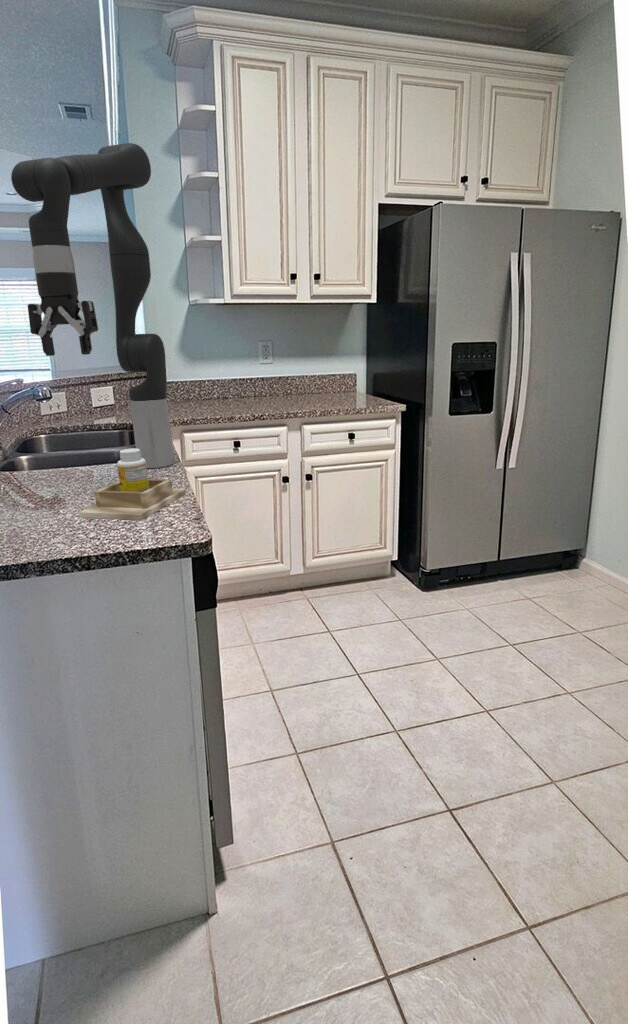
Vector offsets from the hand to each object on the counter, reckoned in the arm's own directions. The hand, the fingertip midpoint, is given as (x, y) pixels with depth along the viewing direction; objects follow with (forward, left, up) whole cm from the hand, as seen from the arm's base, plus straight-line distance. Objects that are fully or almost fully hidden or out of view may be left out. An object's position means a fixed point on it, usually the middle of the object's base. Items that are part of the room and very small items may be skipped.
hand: (68, 355), depth 128 cm
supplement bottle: (+8, +17, -29) cm, 34 cm away
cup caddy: (+8, +16, -30) cm, 35 cm away
